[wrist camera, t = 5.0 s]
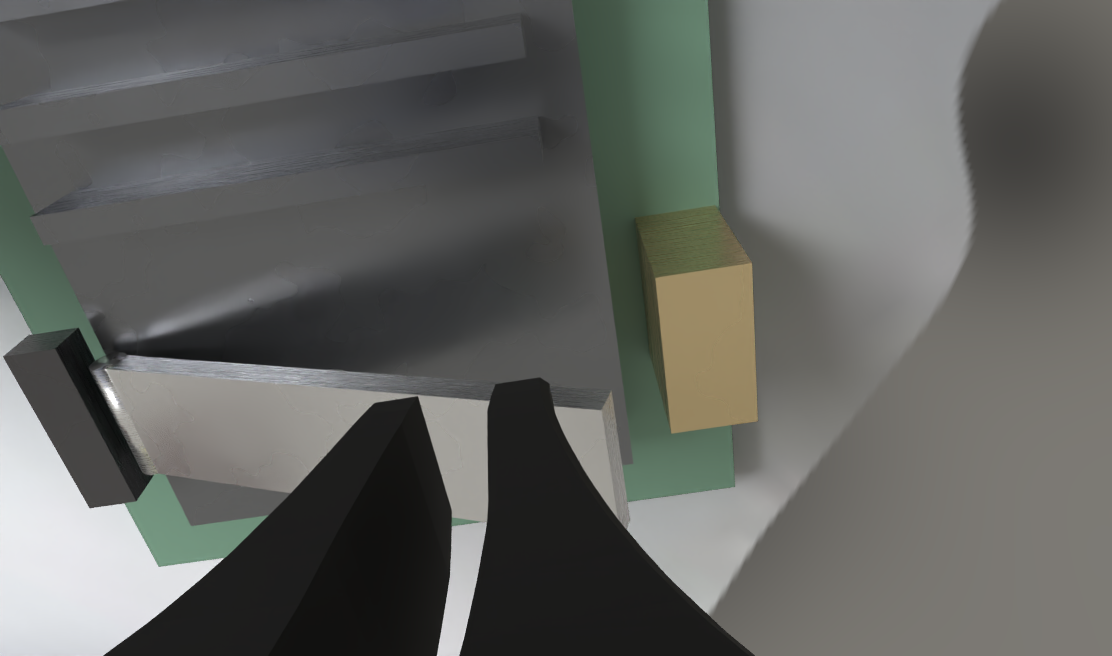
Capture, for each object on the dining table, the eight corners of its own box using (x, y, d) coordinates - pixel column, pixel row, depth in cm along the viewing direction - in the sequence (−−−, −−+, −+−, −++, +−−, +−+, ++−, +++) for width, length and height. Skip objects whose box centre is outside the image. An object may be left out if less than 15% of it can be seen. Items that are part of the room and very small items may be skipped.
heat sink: (167, 485, 23) (108, 579, 19) (-368, -584, 12) (-680, -758, 9) (726, 405, 22) (760, 488, 19) (655, -806, 12) (703, -1078, 8)
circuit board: (171, 543, 25) (159, 566, 24) (-532, -805, 12) (-617, -863, 11) (727, 466, 24) (734, 486, 23) (633, -1077, 11) (642, -1163, 10)
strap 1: (159, 453, 20) (135, 473, 19) (109, 351, 18) (80, 369, 18) (630, 516, 15) (619, 546, 14) (613, 387, 14) (599, 413, 13)
